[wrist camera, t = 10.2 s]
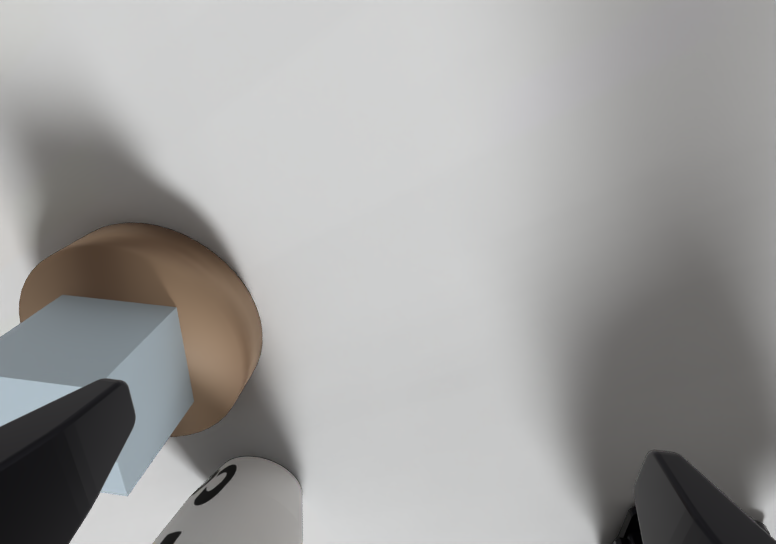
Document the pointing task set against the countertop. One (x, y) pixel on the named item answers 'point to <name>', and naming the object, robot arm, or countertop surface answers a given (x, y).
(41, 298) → the brown shallow bowl
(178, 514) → the cup
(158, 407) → the block
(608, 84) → the countertop surface
